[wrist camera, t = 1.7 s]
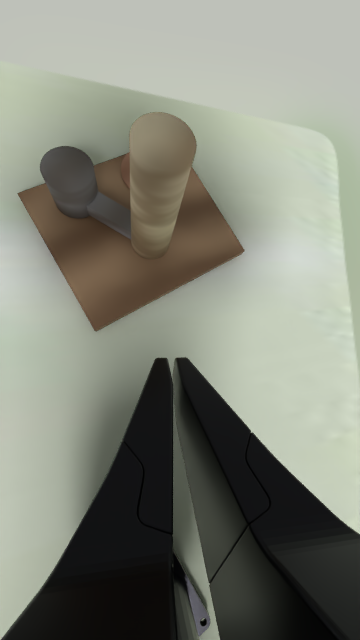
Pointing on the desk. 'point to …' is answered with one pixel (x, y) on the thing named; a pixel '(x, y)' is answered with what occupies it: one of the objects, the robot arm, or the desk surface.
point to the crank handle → (145, 183)
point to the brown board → (129, 246)
